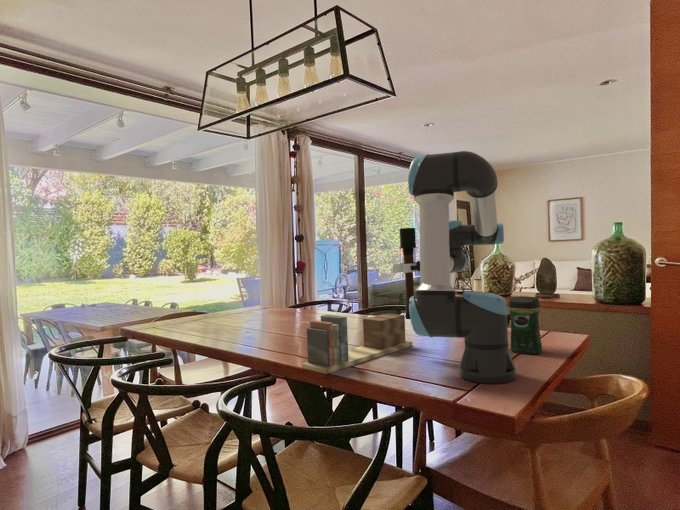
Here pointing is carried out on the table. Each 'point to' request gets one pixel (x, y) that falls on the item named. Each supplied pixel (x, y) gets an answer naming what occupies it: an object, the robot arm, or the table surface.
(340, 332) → the book rack
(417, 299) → the robot arm
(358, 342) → the table surface
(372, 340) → the bookend
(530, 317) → the coffee jar
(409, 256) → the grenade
